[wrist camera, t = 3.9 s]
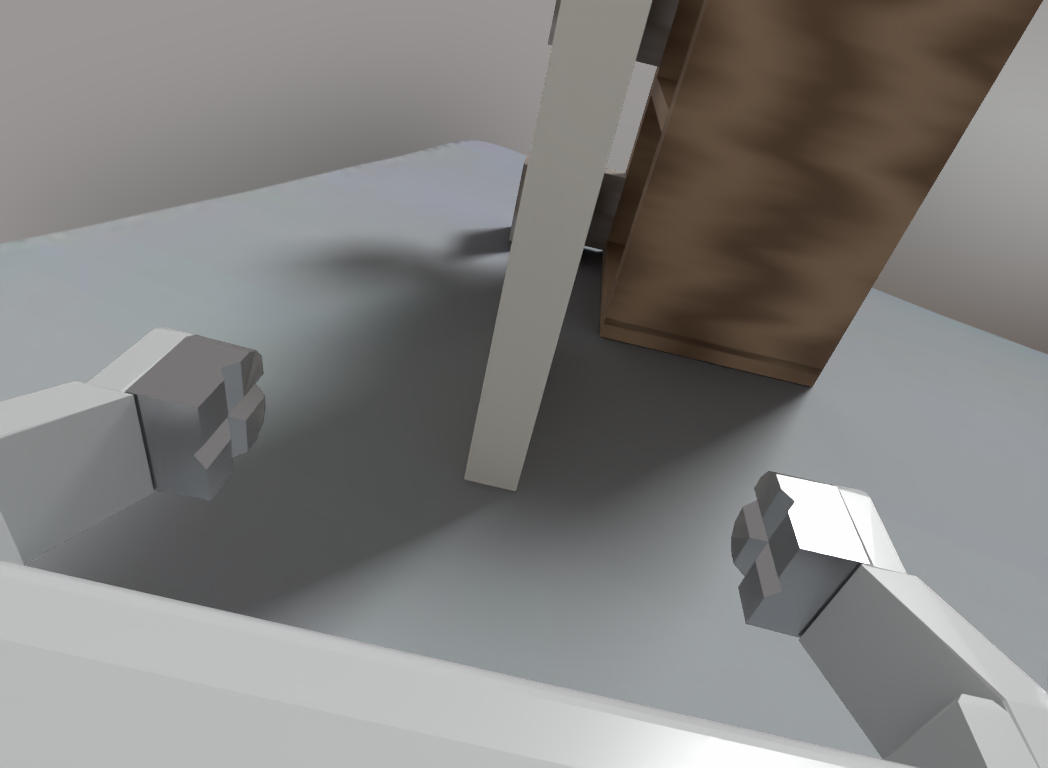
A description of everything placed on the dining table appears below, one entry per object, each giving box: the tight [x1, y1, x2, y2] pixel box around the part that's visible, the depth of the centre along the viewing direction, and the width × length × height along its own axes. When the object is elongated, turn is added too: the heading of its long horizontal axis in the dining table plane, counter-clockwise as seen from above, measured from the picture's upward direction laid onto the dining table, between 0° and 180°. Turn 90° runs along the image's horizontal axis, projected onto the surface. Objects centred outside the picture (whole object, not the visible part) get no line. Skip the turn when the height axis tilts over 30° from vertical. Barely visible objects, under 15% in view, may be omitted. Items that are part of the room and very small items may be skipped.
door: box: [464, 0, 652, 492], centre depth 22 cm, size 2×11×18 cm, turn 173°
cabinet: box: [509, 0, 1043, 387], centre depth 32 cm, size 18×13×22 cm
